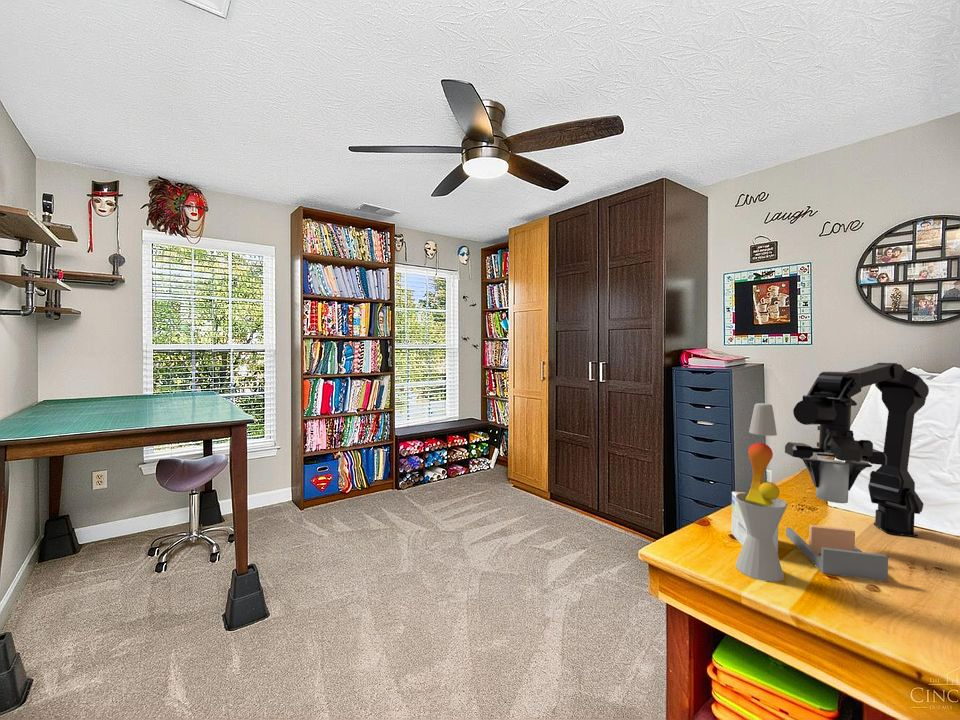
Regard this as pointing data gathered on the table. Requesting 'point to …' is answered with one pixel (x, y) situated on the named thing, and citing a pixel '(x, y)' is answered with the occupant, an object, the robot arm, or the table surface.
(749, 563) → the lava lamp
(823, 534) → the plate
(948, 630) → the table surface
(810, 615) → the table surface
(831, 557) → the pusher lane
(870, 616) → the table surface
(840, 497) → the jar
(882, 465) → the robot arm
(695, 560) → the table surface
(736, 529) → the light bulb box
